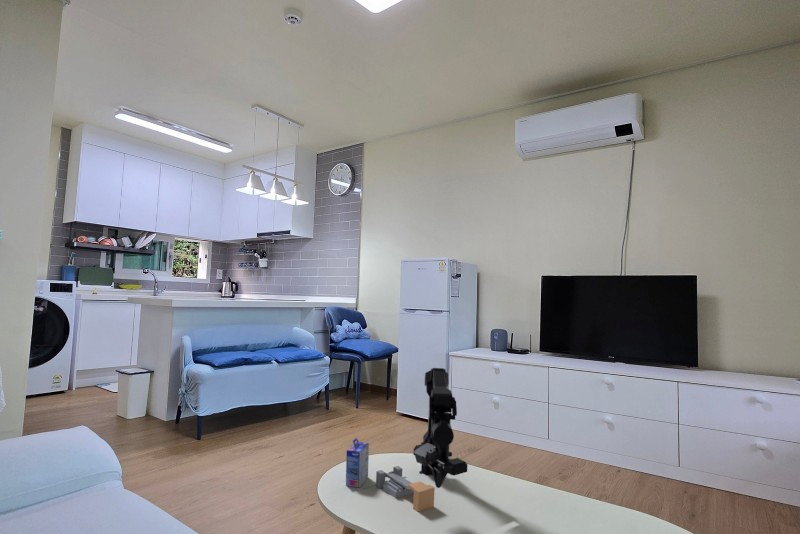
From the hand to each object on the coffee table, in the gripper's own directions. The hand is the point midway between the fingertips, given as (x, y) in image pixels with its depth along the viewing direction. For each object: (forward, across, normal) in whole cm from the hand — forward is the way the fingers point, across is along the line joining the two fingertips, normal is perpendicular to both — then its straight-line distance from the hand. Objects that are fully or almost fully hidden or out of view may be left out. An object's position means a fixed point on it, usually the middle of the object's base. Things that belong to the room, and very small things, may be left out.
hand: (438, 487), depth 130 cm
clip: (+8, -8, 0) cm, 12 cm away
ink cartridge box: (+10, -35, -7) cm, 37 cm away
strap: (+6, -19, 0) cm, 20 cm away
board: (+10, -16, 0) cm, 19 cm away
